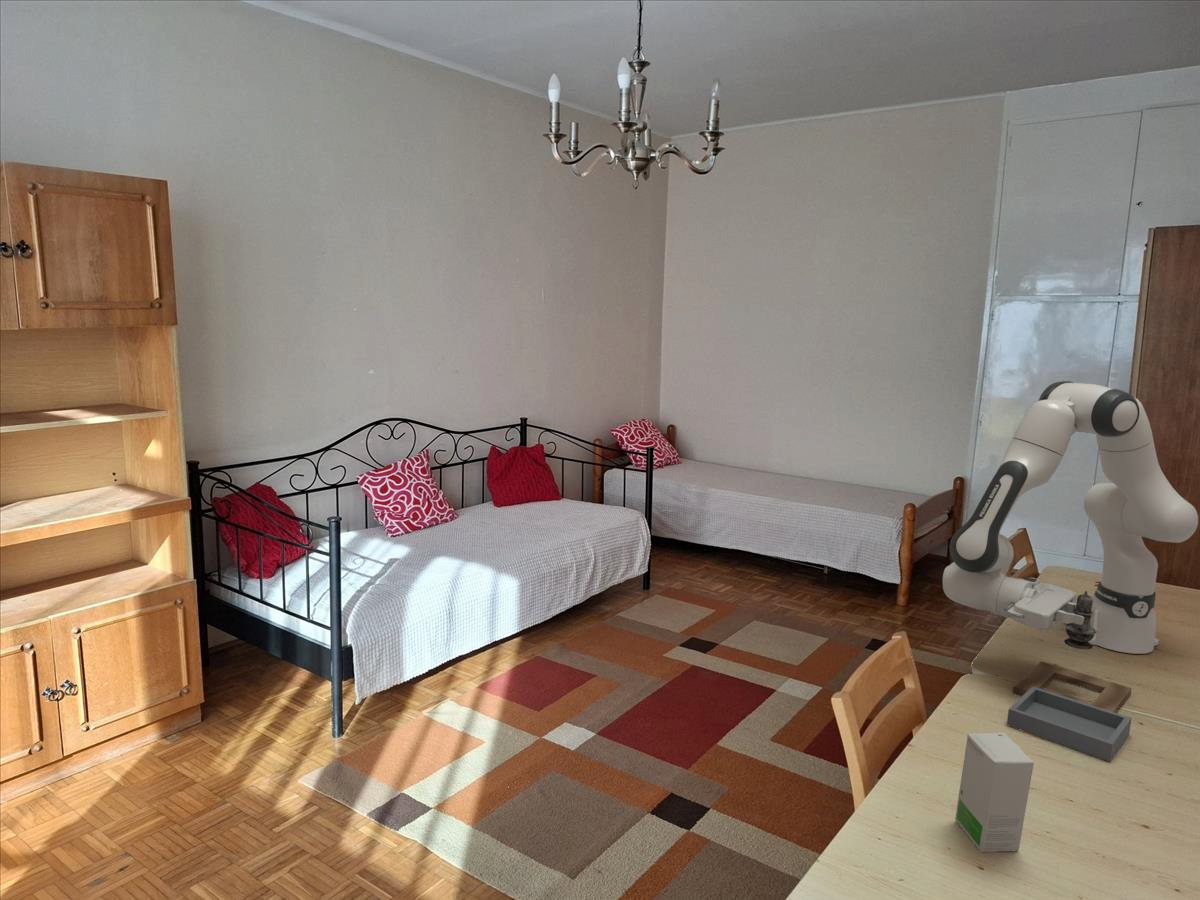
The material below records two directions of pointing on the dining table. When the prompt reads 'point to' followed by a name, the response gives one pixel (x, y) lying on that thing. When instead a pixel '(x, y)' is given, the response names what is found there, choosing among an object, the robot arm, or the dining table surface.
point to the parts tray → (1070, 723)
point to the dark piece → (1081, 632)
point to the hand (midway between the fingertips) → (1087, 617)
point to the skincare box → (993, 791)
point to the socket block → (1045, 673)
